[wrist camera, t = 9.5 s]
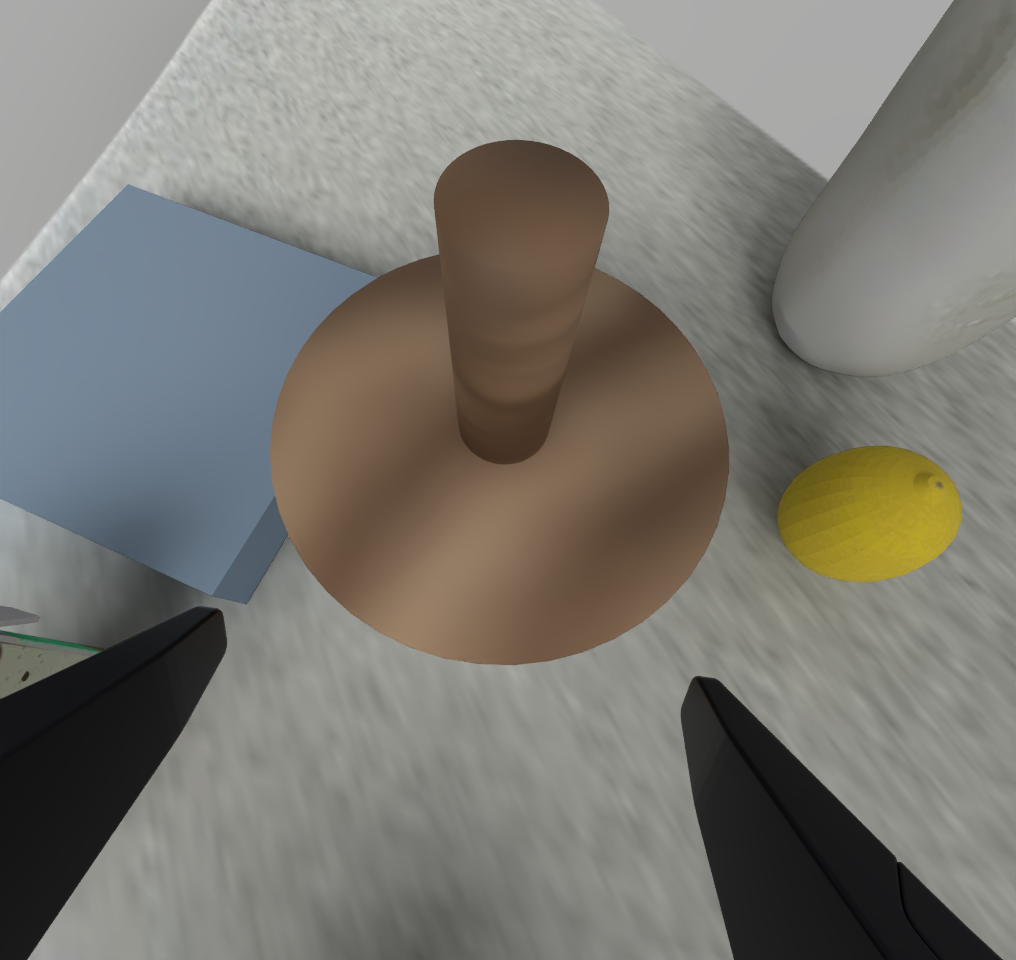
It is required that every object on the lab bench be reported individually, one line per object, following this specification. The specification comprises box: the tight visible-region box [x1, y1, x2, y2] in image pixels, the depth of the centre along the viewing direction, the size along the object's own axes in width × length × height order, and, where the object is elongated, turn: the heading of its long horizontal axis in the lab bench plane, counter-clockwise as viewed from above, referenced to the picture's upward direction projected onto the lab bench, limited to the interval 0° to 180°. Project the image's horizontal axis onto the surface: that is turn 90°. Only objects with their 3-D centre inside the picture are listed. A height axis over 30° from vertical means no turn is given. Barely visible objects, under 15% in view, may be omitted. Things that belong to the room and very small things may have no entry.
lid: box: [270, 140, 729, 665], centre depth 13 cm, size 16×16×10 cm
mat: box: [0, 185, 377, 604], centre depth 24 cm, size 17×17×3 cm
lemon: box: [777, 446, 962, 582], centre depth 21 cm, size 6×6×8 cm
